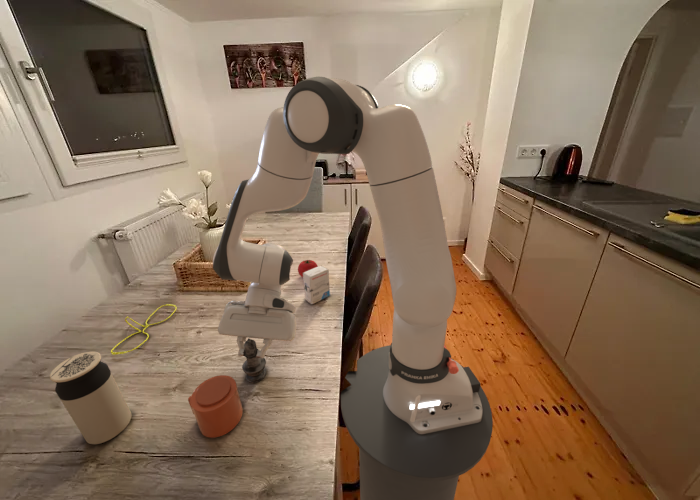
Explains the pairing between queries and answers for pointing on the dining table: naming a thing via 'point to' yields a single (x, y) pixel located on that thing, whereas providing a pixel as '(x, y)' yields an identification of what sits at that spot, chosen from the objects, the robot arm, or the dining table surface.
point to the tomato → (306, 266)
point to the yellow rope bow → (140, 330)
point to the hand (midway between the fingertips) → (251, 357)
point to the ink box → (316, 284)
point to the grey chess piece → (253, 363)
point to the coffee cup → (216, 406)
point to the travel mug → (91, 397)
